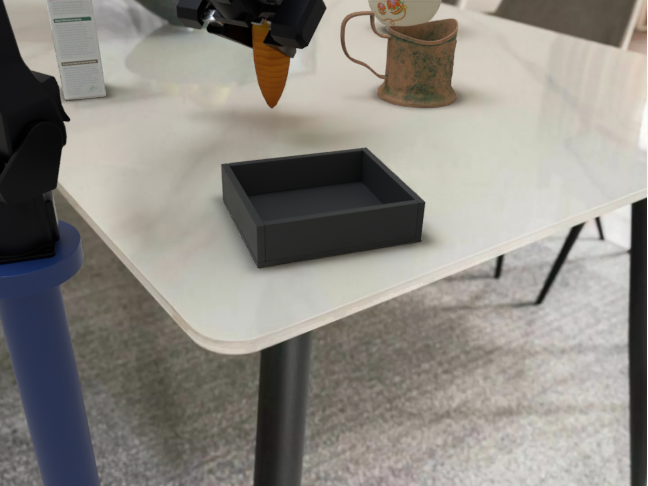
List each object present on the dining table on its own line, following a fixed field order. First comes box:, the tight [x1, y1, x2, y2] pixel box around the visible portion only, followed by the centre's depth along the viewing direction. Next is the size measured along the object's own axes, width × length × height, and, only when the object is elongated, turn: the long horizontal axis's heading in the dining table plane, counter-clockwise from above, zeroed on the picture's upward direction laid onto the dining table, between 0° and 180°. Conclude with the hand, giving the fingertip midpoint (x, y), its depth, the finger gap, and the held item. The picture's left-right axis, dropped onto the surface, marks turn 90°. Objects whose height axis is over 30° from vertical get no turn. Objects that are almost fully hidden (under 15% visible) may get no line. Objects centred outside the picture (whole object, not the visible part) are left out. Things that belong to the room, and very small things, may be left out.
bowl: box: [367, 0, 443, 33], centre depth 133 cm, size 16×16×10 cm
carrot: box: [252, 19, 291, 109], centre depth 85 cm, size 5×5×15 cm
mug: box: [339, 10, 459, 109], centre depth 96 cm, size 12×18×12 cm, turn 104°
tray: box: [220, 147, 426, 268], centre depth 64 cm, size 15×13×4 cm
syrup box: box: [45, 0, 107, 101], centre depth 93 cm, size 6×6×14 cm
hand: (278, 51), depth 87 cm, fingers closed on carrot, 5 cm apart
